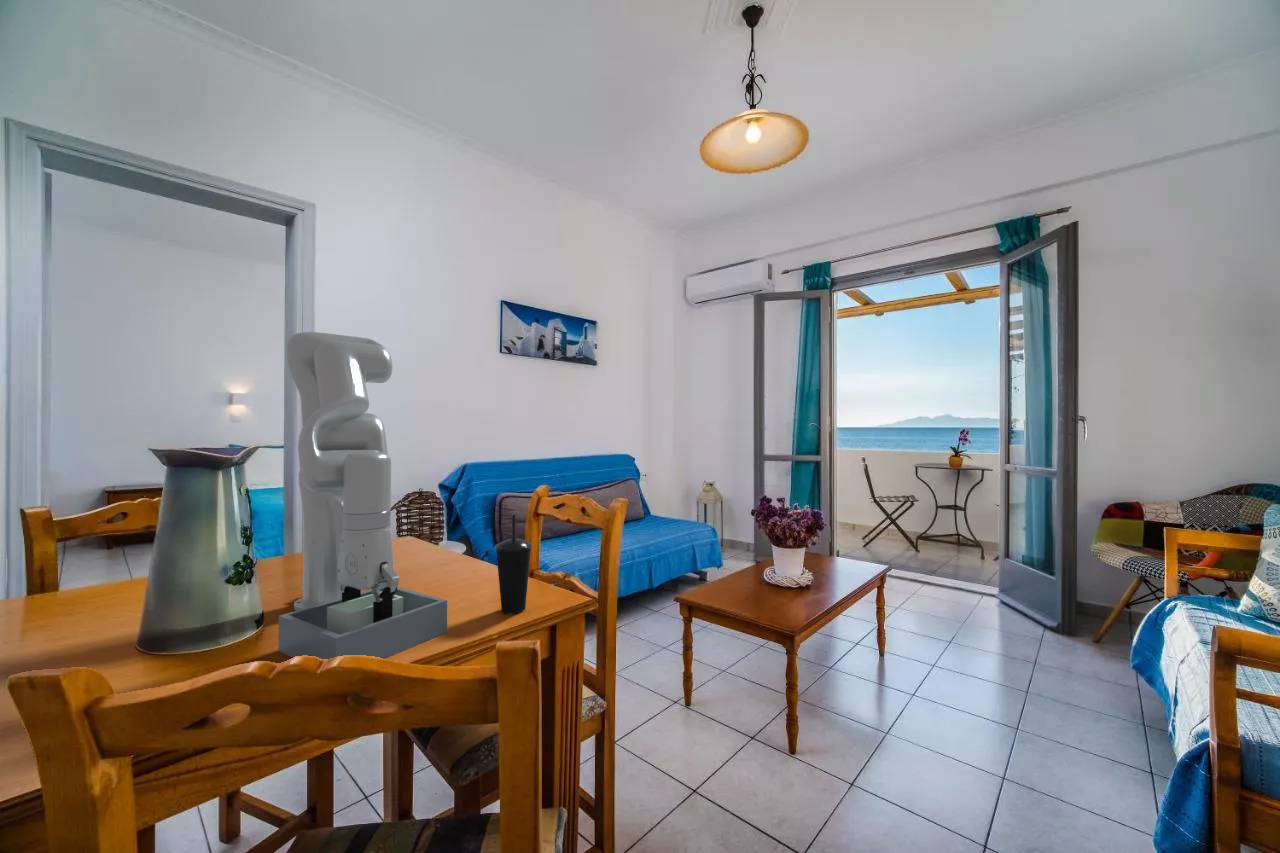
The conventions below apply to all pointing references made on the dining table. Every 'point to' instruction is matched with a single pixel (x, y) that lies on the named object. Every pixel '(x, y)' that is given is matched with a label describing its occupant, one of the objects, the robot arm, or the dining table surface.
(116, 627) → the dining table surface
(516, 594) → the drinking cup
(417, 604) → the big crate
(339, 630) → the block
